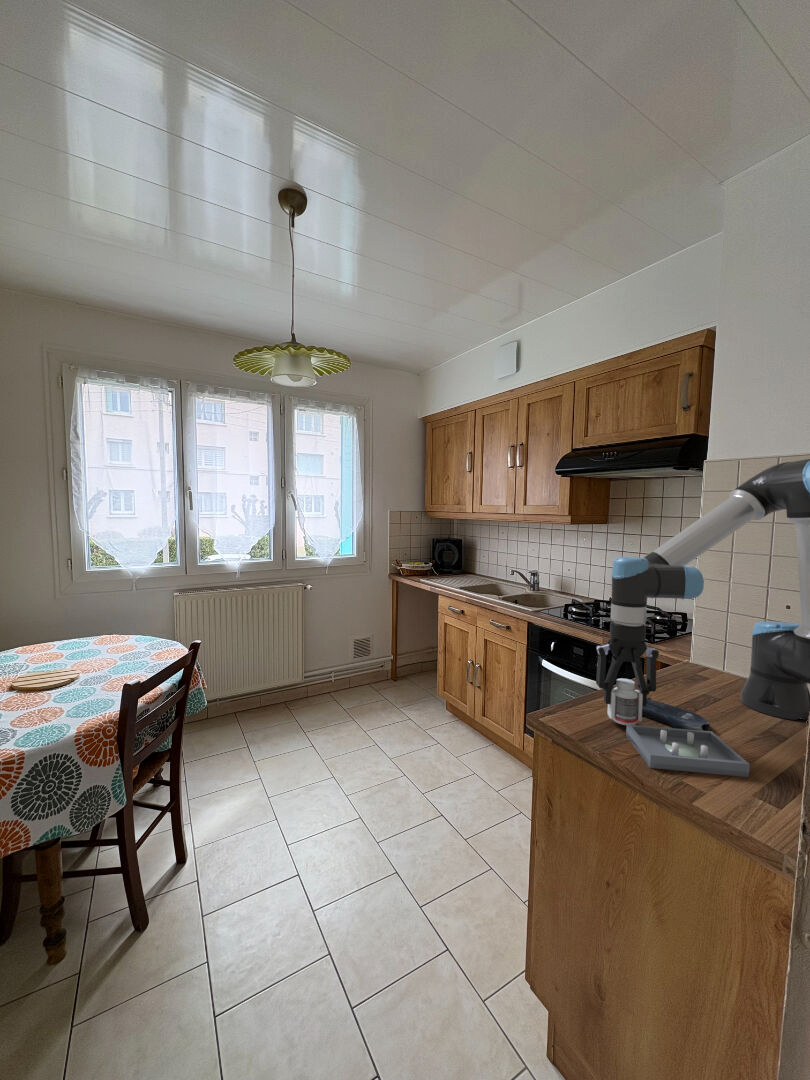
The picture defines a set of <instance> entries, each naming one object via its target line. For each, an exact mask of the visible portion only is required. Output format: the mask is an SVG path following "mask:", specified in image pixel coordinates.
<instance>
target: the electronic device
mask: <svg viewBox="0 0 810 1080" xmlns="http://www.w3.org/2000/svg"><path fill="white" fill-rule="evenodd" d="M642 716H644V717H646V718H649V719H652V720H654V721H658V722H660V723H663V724H666V725H669V727H671V728H676V729H688V730H700V731H704V729H705V731H710V727H711V725H710V722H709V721H708V720H707V719H706V718H705V717H703V716H702V715H700V714H698V713H696V712H693V711H689V710H687V709H684V708H680V707H677V706H675V705H671V704H666V703H664V702H660V701H656V700H652V699H651V697H650V696H647V700H646V706H642ZM703 728H704V729H703Z"/></svg>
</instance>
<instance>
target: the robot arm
mask: <svg viewBox="0 0 810 1080" xmlns="http://www.w3.org/2000/svg"><path fill="white" fill-rule="evenodd" d="M783 510H785V512H786V519H787V520H788V521H789V522H791V523H792V524H793V525H795V534H796V537H795V538H796V551H797V565H798V568H797V569H798V570H797V571H798V580H799V581H798V583H799V585H798V586H799V601H800V617H801V623H797V622H796V623H794V622H786V621H785V622H784V621H765V620H764V621H758V622H756V623H755V624H754V626H753V630H752V634H751V636H752V639H751V655H750V656H751V659H750V672H749V676H748V677H747V679H746V681H745V683H744V685H743V687H742V689H741V690H740V698H739V700H740V702H741V703H742V704H743V705H745V706H746V707H748V708H750V709H751V710H754V711H756V712H759V713H762V714H764V715H769V716H772V717H778V718H781V719H787V720H794V721H798V720H797V719H800V718H801V719H803V720H802V721H809V720H808V716H809V711H810V689H809V687H808V686H809V685H810V458H807V459H801V460H795V461H786V462H780V463H777V464H775V465H772V466H770V467H768V468H766V469H764V470H762V471H760V472H759V473H757V474H756V475H754V476H752V477H751V478H749V479H748V480H746V481H745V482H742V484H740V485H739V486H738V487H736V488H735V489H733V490H732V491H730V493H729V498H727V499H725V501H723V502H722V503H720V504H718V505H717V506H716V507H714V508H713V509H712V510H710V511H709V512H707V513H706V514H705V515H703V516H701V517H700V518H699V519H698V520H696V521H695V522H693V523H691V524H690V525H689V526H687V527H686V528H684V529H683V530H681V531H680V532H679V533H677V534H676V535H674V536H673V537H671V538H670V539H669V540H667V541H665V542H664V543H662V544H661V545H660V546H658V547H656V549H653V551H651V552H650V553H648V554H647V555H646V556H643V557H637V556H618V557H616V558H614V559H613V563H612V569H611V574H610V575H611V599H610V601H611V602H610V620H612V621H610V625H609V640H608V642H607V644H605V645H603V644H602V645H600V644H598V645H596V646H595V648H596V649H595V650H596V652H597V664H596V680H595V684H596V685H597V686H598V688H599V689H600V690H601V689H602V690H603V700H604V703H605V704H606V705H607V716H608V718H609V719H610V720H613V719H614V716H615V692H614V691H613V689H614V686H615V684H616V681H617V677H618V674H619V671H620V668H621V667H622V665H623V664H624V663H626V662H629V663H630V662H631V665H632V669H633V673H634V676H635V681H636V684H637V687H638V689H634V690H635V691H636V692H637V694H638V703H637V721H638V722H642V720H643V715H642V706H646V700H647V697H648V695H650V692H652V693H653V692H656V691H657V659H658V657H659V655H660V652H659V651H658V650H657V649H656V648H654V647H649V646H647V645H646V632H647V630H646V629H647V626H646V622H647V607H648V606H647V605H648V598H649V599H681V600H685V599H686V600H687V599H696V598H698V597H699V596H701V595H702V593H703V590H704V588H705V587H704V586H705V585H704V583H705V582H704V581H705V580H704V576H703V574H702V571H700V569H698V568H697V567H695V566H687V565H688V564H690V563H691V562H693V561H695V559H697V558H698V557H700V556H701V555H703V554H705V553H706V552H708V551H709V550H710V549H712V548H713V547H715V546H716V545H718V544H719V543H720V542H722V541H723V540H725V539H726V538H727V537H729V536H731V535H732V534H733V533H735V532H737V531H738V530H740V529H741V528H742V527H744V526H745V525H747V524H748V523H749V522H751V521H760V520H762V519H763V518H765V517H766V516H768V515H769V514H772V513H775V512H777V511H778V512H779V511H783ZM609 651H610V652H611V654H612V657H611V663H610V666H609V668H608V672H607V674H606V670H607V669H606V667H607V655H608V654H609ZM644 654H645V656H646V658H645V659H646V664H645V665H646V667H645V668H646V669H645V670H646V673H645V674H646V676H645V675H644V670H643V668H642V666H643V665H642V661H641V658H642V656H643V655H644ZM645 677H646V679H645ZM808 684H809V685H808ZM805 719H806V720H805Z"/></svg>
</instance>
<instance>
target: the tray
mask: <svg viewBox="0 0 810 1080" xmlns="http://www.w3.org/2000/svg"><path fill="white" fill-rule="evenodd" d="M625 729H626V730H625V737H626V738H627V739H628V741H629V742H630V743H631V744H632V746H633V747H634V748H635V750H636V751H637V753H638V754H639V755H640V756H641V758H642V759H643V760H644V762H645V763H646V764H647V766H648V767H649V768H650V769H657V770H658V769H659V770H669V771H670V770H671V771H679V772H680V771H682V772H690V773H701V774H713V775H721V776H731V777H732V776H733V777H743V778H750V768H751V764H750V763H749V762H748V761H747V760H746V759H744V757H742V755H740V754H739V753H737V751H735V750H734V749H733V748H732V747H731V746H730V745H728V744H727V743H726V742H725V741H724V740H723V739H722V738H720V737H719V736H718V735H717V734H716V733H715V732H714V731H710V730H709V731H706V730H703V731H700V730H688V729H676V728H674V727H661V726H652V725H651V726H650V725H649V726H648V725H637V724H635V725H628V724H627V725H626V728H625Z"/></svg>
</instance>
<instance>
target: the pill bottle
mask: <svg viewBox="0 0 810 1080" xmlns="http://www.w3.org/2000/svg"><path fill="white" fill-rule="evenodd" d="M615 685H616V686H615V687H613V691H614V692H615V716H614V719H612V721H614V722H615V723H617V724H619V725H623V726H627V724H628V725H637V723H638V722H637V721H638V720H637V703H638V694H637V692H636V691H635V690H636V682H635V681H633V680H632V679H629V678H622V677H621V678H616V680H615Z"/></svg>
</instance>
